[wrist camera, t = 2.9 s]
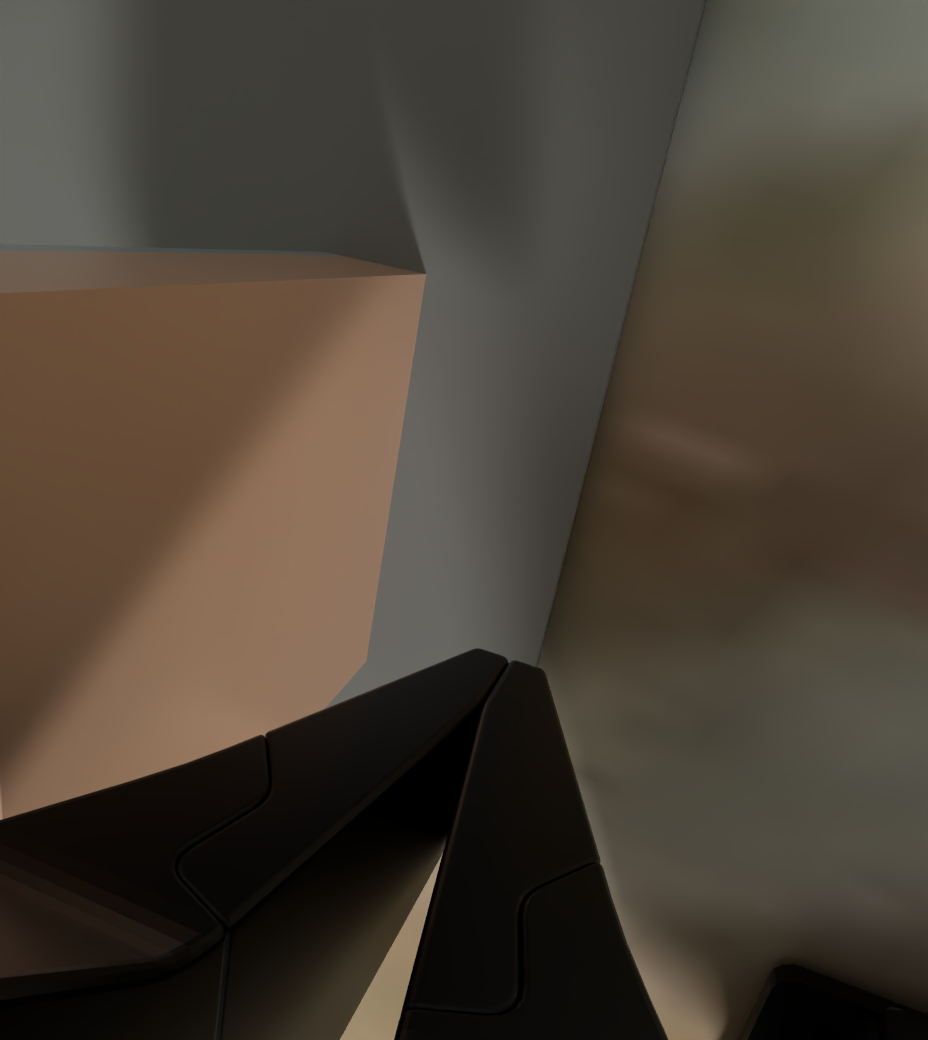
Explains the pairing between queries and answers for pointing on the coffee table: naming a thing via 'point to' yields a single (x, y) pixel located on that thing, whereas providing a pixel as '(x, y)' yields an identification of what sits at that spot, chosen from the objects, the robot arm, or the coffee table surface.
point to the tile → (187, 498)
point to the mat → (388, 229)
